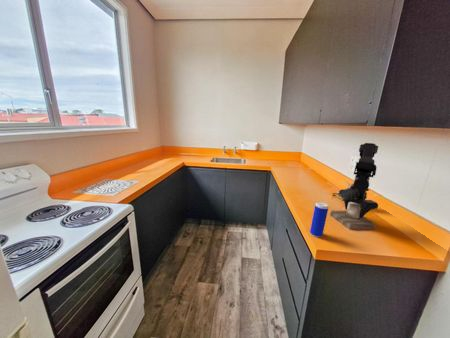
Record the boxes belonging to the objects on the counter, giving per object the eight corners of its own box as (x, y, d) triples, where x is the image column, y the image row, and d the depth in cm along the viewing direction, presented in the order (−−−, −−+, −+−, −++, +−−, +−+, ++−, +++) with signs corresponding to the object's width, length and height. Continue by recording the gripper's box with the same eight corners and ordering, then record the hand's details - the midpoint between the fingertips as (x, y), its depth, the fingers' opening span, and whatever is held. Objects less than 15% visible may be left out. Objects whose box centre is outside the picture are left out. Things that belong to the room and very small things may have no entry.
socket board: (330, 215, 102) (331, 210, 102) (352, 215, 104) (353, 210, 103) (349, 229, 89) (350, 223, 88) (374, 229, 90) (376, 223, 90)
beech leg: (341, 218, 99) (345, 202, 97) (351, 218, 100) (355, 202, 97) (350, 224, 93) (354, 207, 91) (360, 224, 94) (365, 207, 91)
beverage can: (318, 231, 85) (324, 202, 82) (324, 238, 80) (331, 207, 77) (307, 231, 85) (313, 201, 81) (313, 237, 80) (319, 206, 76)
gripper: (333, 179, 100) (327, 205, 103) (361, 191, 82) (353, 222, 85) (351, 179, 101) (345, 205, 105) (383, 192, 83) (374, 222, 87)
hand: (353, 213), depth 95 cm, fingers open, 9 cm apart
